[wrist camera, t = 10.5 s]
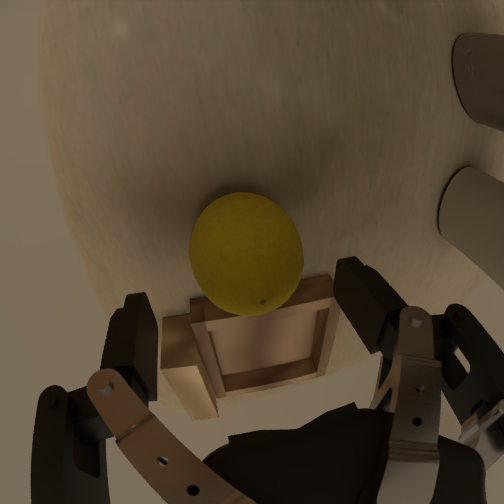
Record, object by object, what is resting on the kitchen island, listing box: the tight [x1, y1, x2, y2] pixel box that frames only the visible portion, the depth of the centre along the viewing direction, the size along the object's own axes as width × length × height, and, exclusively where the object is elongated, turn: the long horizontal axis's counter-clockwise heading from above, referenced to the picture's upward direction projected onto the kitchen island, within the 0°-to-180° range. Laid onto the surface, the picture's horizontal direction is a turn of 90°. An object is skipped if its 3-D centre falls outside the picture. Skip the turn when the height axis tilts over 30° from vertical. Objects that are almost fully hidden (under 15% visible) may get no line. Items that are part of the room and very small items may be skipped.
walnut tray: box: [190, 275, 341, 398], centre depth 23 cm, size 11×11×3 cm
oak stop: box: [160, 314, 219, 420], centre depth 21 cm, size 2×9×5 cm, turn 3°
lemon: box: [189, 192, 304, 316], centre depth 14 cm, size 6×6×8 cm
